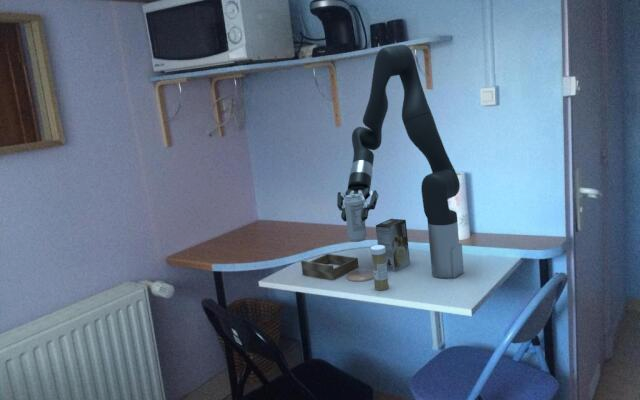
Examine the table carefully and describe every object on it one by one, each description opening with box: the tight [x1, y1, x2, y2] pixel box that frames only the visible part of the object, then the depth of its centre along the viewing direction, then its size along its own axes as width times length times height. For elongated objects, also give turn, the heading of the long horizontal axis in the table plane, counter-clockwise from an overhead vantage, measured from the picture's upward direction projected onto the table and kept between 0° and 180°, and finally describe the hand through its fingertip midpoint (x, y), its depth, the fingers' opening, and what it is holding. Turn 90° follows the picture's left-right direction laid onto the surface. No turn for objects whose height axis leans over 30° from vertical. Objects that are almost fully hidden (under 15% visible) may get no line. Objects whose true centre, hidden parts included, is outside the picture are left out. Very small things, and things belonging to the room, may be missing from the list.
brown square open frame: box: [300, 253, 360, 281], centre depth 194 cm, size 14×14×5 cm
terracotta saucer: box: [345, 269, 374, 283], centre depth 185 cm, size 10×10×1 cm
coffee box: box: [375, 218, 411, 273], centre depth 189 cm, size 9×6×16 cm
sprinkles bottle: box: [370, 244, 390, 291], centre depth 171 cm, size 5×5×13 cm
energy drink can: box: [343, 194, 368, 243], centre depth 181 cm, size 6×6×15 cm
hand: (353, 219), depth 180 cm, fingers closed on energy drink can, 6 cm apart
